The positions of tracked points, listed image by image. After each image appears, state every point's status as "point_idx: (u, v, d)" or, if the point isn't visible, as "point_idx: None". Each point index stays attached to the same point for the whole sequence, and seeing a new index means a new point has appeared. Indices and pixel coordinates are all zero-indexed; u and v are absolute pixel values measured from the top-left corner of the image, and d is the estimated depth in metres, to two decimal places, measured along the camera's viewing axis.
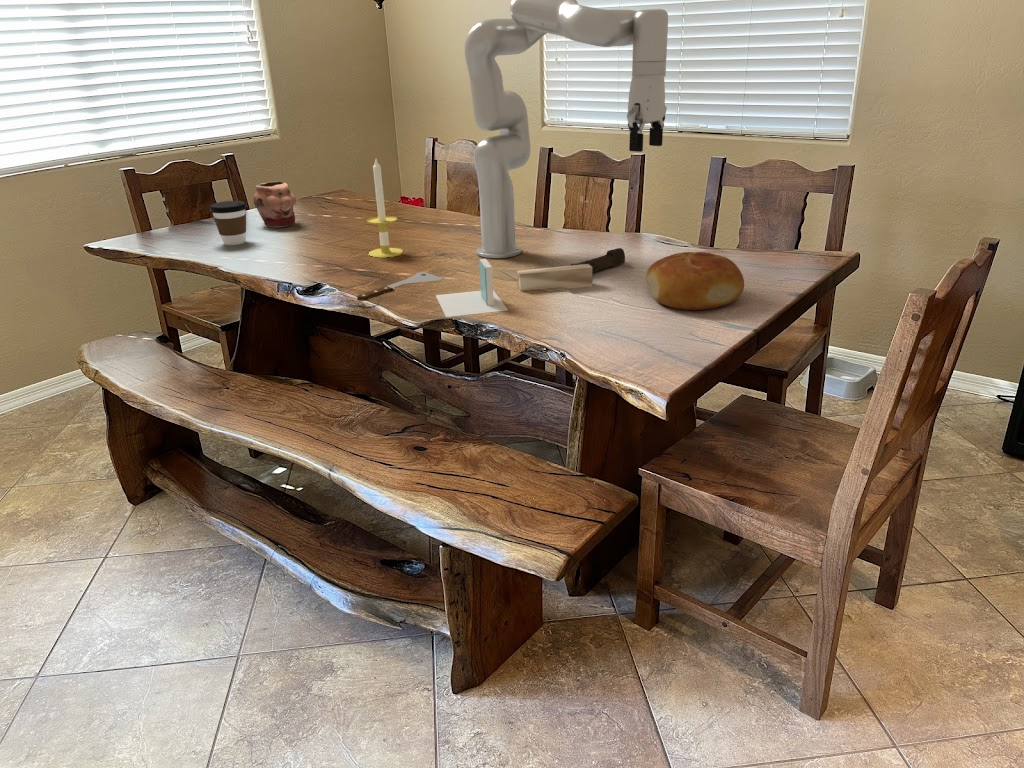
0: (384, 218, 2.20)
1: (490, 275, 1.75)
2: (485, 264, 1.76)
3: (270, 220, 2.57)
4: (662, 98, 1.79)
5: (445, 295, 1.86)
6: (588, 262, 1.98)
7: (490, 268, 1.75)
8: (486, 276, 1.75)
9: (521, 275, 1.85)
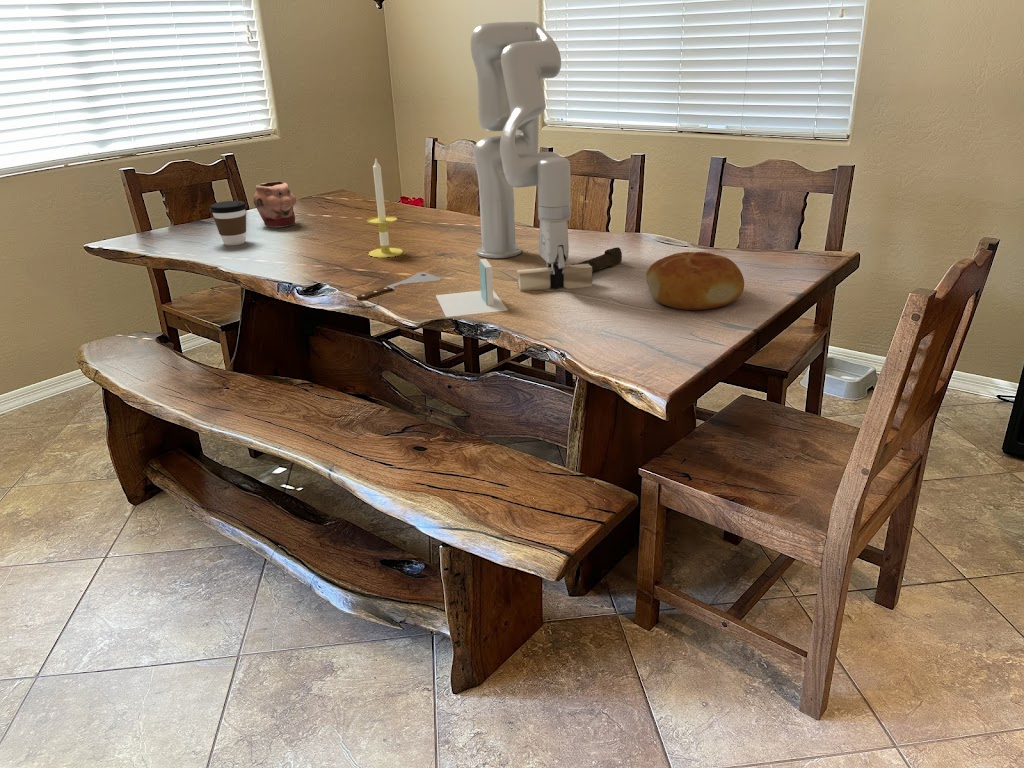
0: (384, 218, 2.20)
1: (490, 275, 1.75)
2: (485, 264, 1.76)
3: (270, 220, 2.57)
4: None
5: (445, 295, 1.86)
6: (588, 262, 1.98)
7: (490, 268, 1.75)
8: (486, 276, 1.75)
9: (521, 274, 1.85)
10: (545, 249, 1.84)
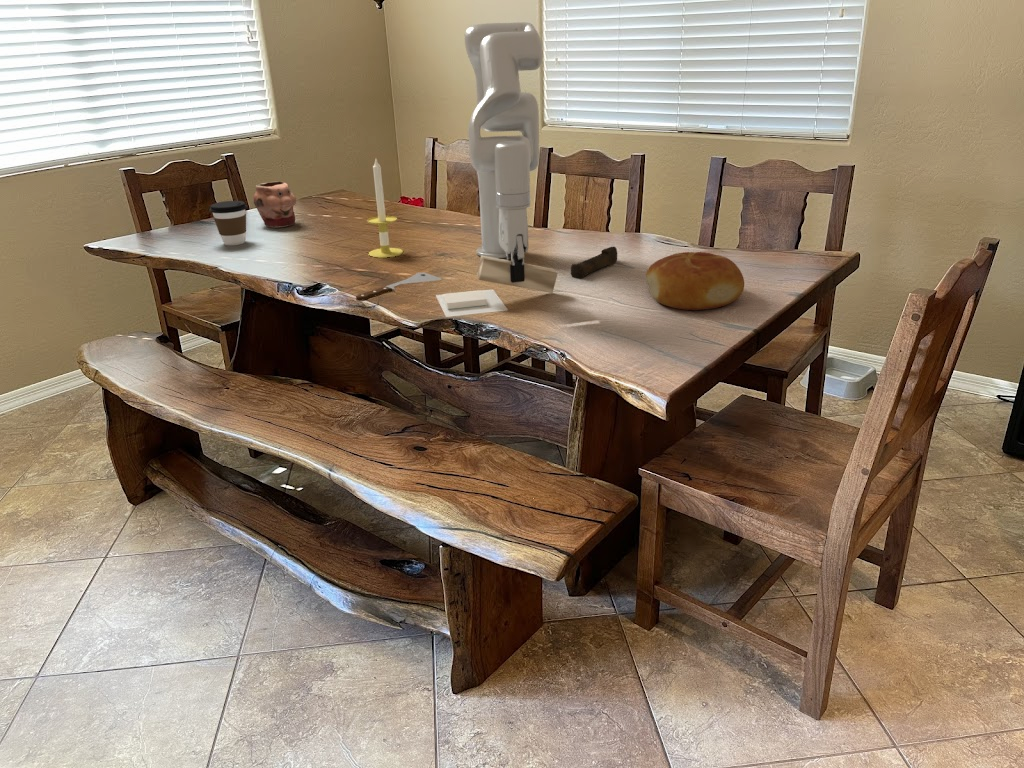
0: (384, 218, 2.20)
1: (455, 304, 1.76)
2: (445, 304, 1.78)
3: (270, 220, 2.57)
4: None
5: None
6: (588, 262, 1.98)
7: (448, 304, 1.76)
8: (456, 307, 1.76)
9: (485, 260, 1.76)
10: (504, 239, 1.74)
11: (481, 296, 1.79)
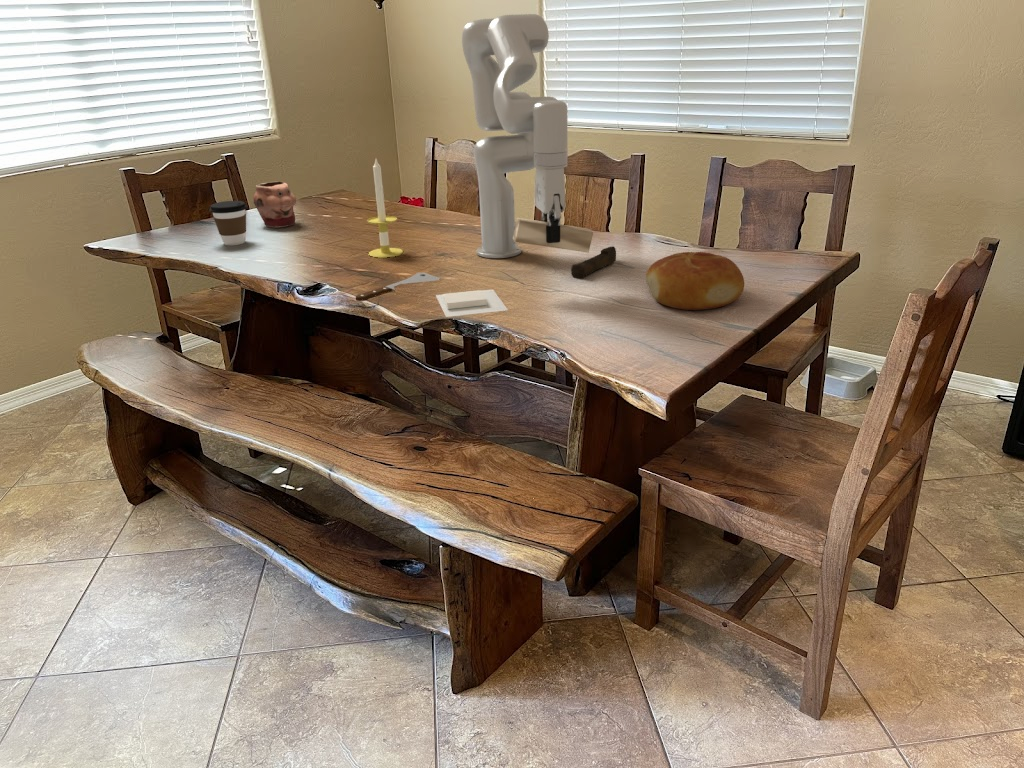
0: (384, 218, 2.20)
1: (455, 304, 1.76)
2: (445, 304, 1.78)
3: (270, 220, 2.57)
4: None
5: None
6: (589, 262, 1.98)
7: (448, 304, 1.76)
8: (456, 307, 1.76)
9: (521, 222, 1.77)
10: (541, 198, 1.75)
11: (481, 296, 1.79)
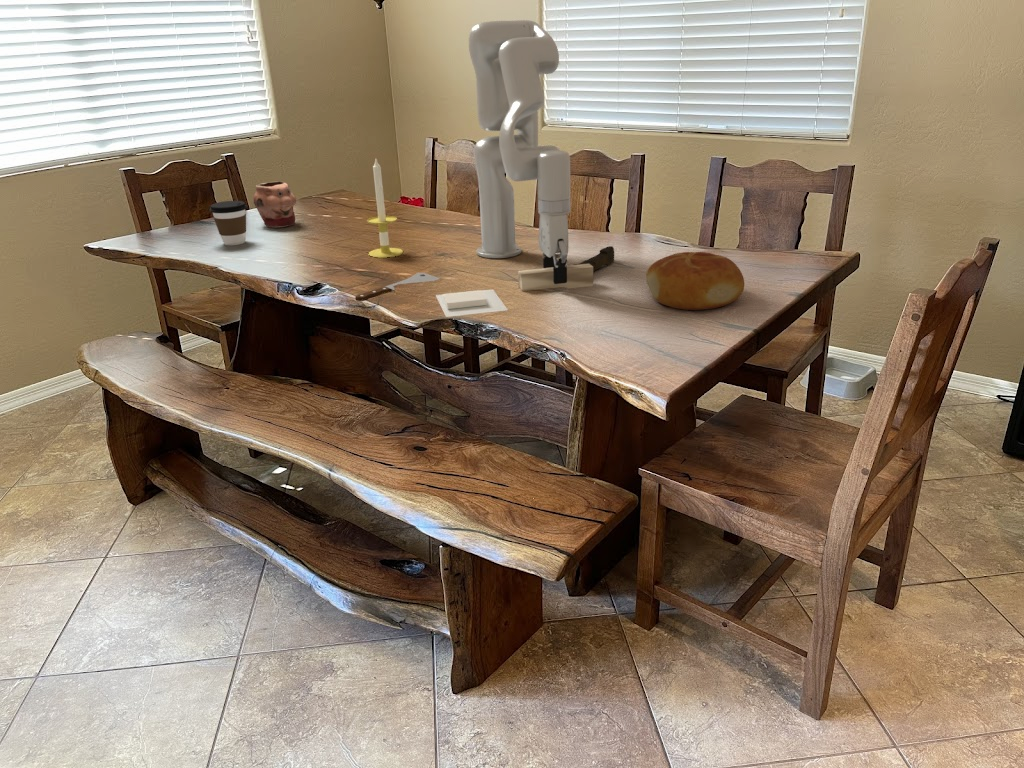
0: (384, 218, 2.20)
1: (455, 304, 1.76)
2: (445, 304, 1.78)
3: (270, 220, 2.57)
4: None
5: None
6: (589, 262, 1.98)
7: (448, 304, 1.76)
8: (456, 307, 1.76)
9: (522, 275, 1.85)
10: (545, 243, 1.83)
11: (481, 296, 1.79)
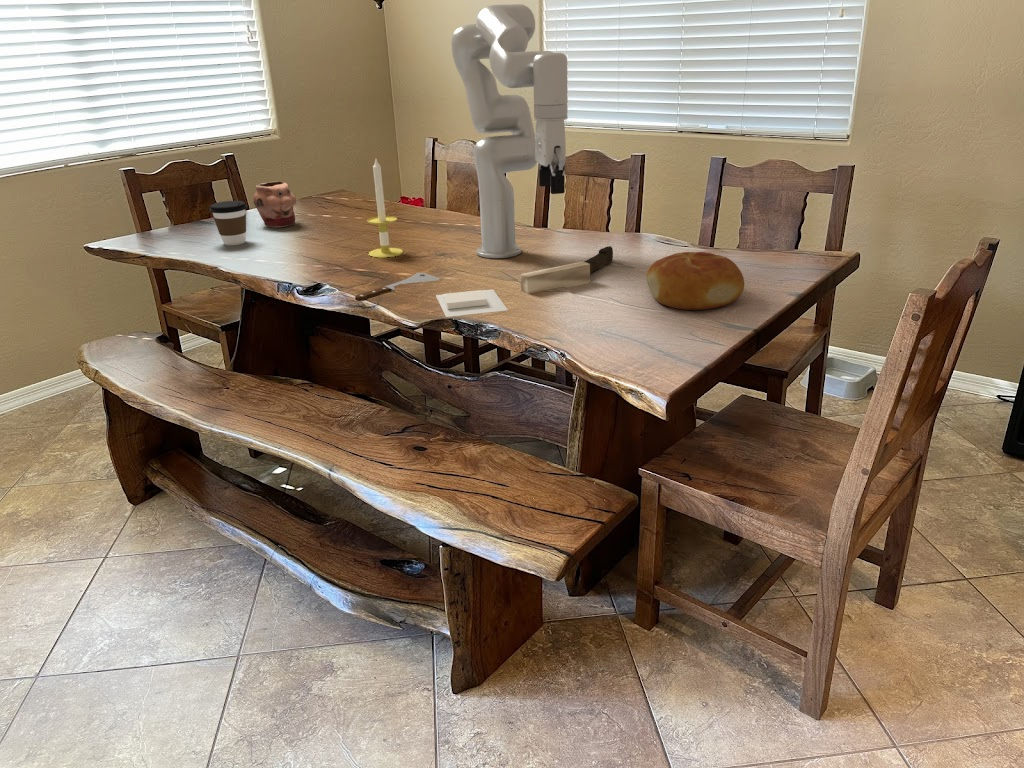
0: (384, 218, 2.20)
1: (455, 304, 1.76)
2: (445, 304, 1.78)
3: (270, 220, 2.57)
4: None
5: None
6: (589, 262, 1.98)
7: (448, 304, 1.76)
8: (456, 307, 1.76)
9: (528, 278, 1.83)
10: (541, 152, 1.76)
11: (481, 296, 1.79)
